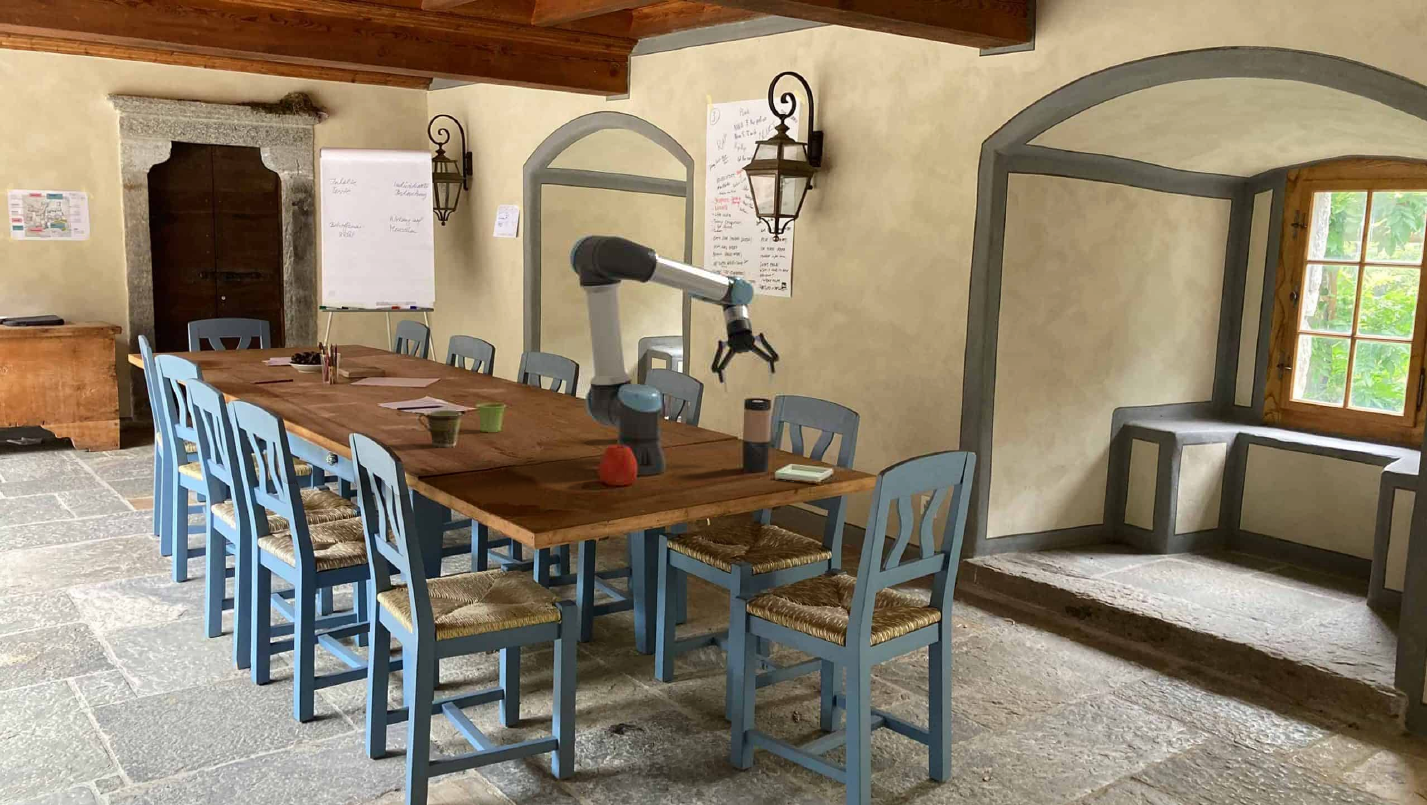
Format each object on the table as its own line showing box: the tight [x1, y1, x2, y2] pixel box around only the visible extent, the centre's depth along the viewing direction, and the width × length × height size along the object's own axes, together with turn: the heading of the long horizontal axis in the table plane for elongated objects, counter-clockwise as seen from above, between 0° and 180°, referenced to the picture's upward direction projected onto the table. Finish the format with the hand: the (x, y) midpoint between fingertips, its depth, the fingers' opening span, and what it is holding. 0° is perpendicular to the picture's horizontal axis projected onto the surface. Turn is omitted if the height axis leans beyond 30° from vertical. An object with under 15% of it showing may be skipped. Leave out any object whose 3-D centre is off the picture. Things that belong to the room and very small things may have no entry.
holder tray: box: [774, 463, 834, 482], centre depth 305 cm, size 12×12×2 cm
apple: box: [598, 444, 638, 487], centre depth 291 cm, size 10×10×10 cm
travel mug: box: [742, 397, 772, 473], centre depth 312 cm, size 8×8×20 cm
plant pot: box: [476, 402, 507, 433], centre depth 360 cm, size 9×9×9 cm
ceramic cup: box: [418, 410, 462, 448], centre depth 335 cm, size 13×10×10 cm
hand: (749, 387), depth 324 cm, fingers open, 13 cm apart
